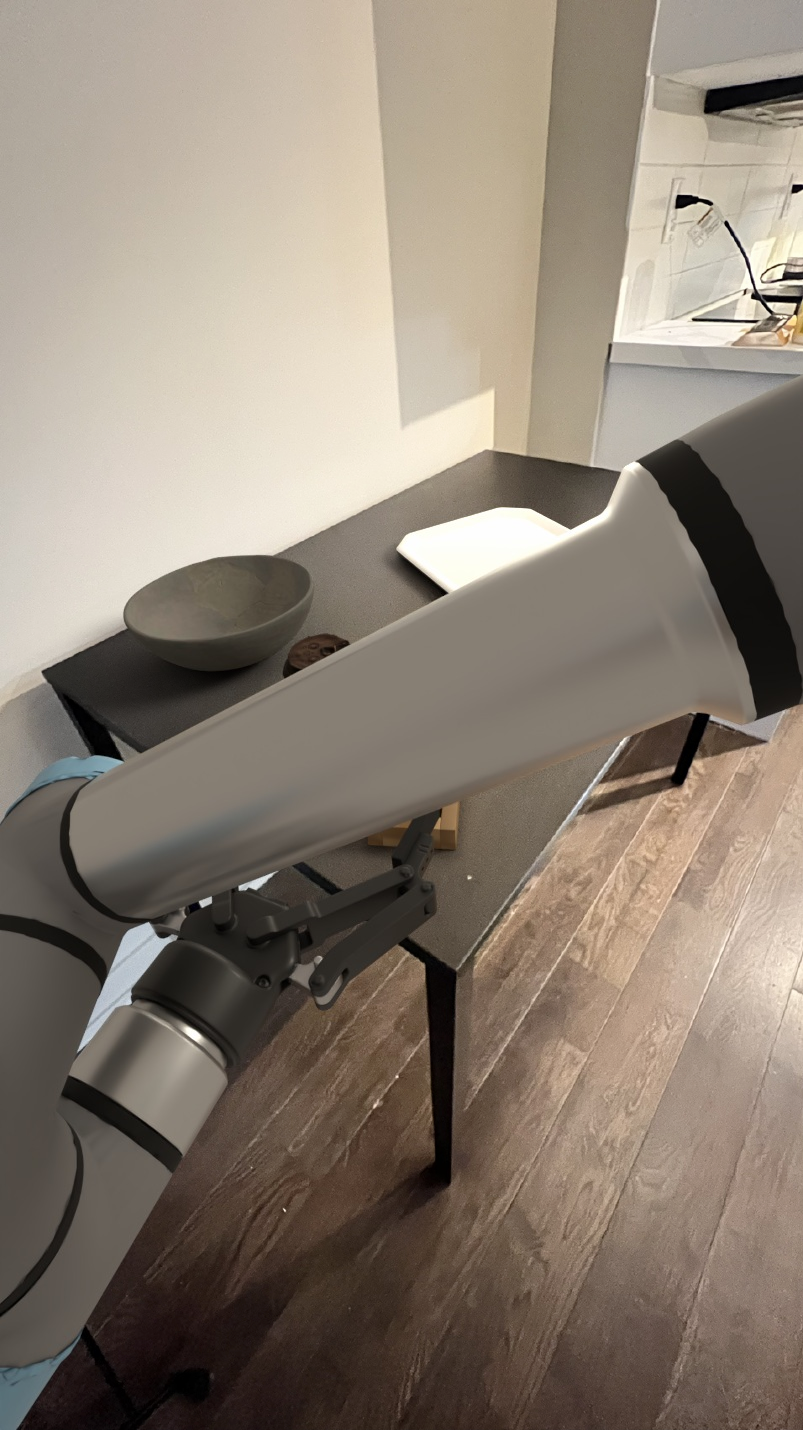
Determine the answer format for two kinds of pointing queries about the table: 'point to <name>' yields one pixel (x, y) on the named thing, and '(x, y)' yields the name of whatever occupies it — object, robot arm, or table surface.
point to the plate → (476, 544)
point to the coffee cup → (312, 651)
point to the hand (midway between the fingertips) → (355, 780)
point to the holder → (441, 833)
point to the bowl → (222, 611)
